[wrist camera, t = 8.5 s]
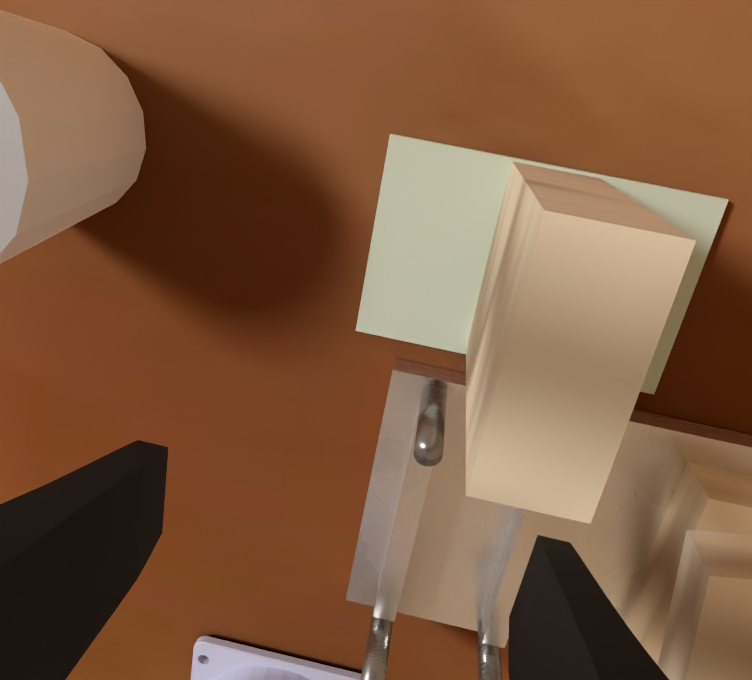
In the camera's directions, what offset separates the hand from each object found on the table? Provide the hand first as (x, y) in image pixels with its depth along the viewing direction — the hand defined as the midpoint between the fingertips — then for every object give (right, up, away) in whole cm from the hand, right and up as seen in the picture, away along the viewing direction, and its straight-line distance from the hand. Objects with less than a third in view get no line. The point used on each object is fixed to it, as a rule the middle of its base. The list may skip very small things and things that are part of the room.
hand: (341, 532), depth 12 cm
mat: (+5, +6, +8) cm, 11 cm away
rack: (+8, -3, +11) cm, 14 cm away
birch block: (+5, +6, +8) cm, 11 cm away
